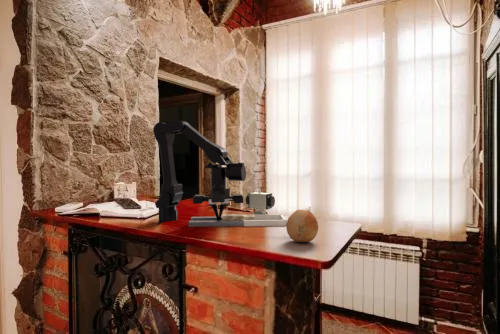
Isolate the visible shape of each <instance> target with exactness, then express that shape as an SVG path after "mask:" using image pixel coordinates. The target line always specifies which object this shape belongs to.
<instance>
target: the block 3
mask: <svg viewBox="0 0 500 334" xmlns="http://www.w3.org/2000/svg"><path fill="white" fill-rule="evenodd" d="M244 220H255V216H254V215H253V214H244Z"/></svg>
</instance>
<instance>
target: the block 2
mask: <svg viewBox="0 0 500 334" xmlns="http://www.w3.org/2000/svg"><path fill="white" fill-rule="evenodd" d="M232 214H233V213H232ZM244 215H245V214H244V213H243V214H242V213H235V214H233V220H244Z"/></svg>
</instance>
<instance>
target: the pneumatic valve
mask: <svg viewBox="0 0 500 334" xmlns="http://www.w3.org/2000/svg"><path fill="white" fill-rule="evenodd" d="M275 199H276V198H275V196H273V193H269V192H262V190H259V191H258V192H257V191H256V192H255V191H253V192H248V194H247V195H246V197H245V203H246V205H247V206H248V207H247V208H248V209H255V211H253V214H252V215H260V214H268V213H267V212H266V210H270V209H272V208H274V206H275V204H276V200H275Z"/></svg>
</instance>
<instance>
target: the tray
mask: <svg viewBox="0 0 500 334" xmlns="http://www.w3.org/2000/svg"><path fill="white" fill-rule="evenodd" d="M254 216H255V220H244V227H286V224H287V220H288V219H286V217H284V216H283V214H280V213H278V214H277V213H276V214H275V213H272V214H270V213H269V214H268V213H267V214H260V215H254Z"/></svg>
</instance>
